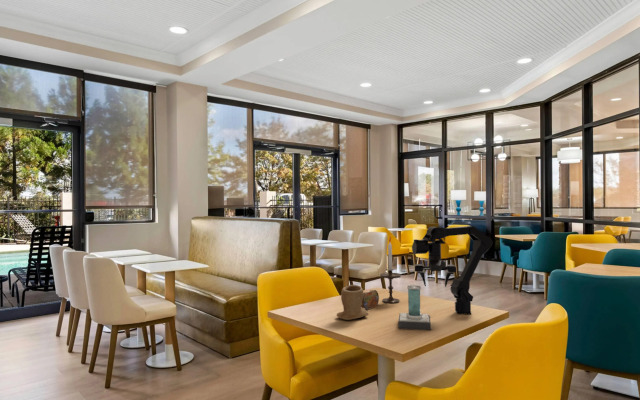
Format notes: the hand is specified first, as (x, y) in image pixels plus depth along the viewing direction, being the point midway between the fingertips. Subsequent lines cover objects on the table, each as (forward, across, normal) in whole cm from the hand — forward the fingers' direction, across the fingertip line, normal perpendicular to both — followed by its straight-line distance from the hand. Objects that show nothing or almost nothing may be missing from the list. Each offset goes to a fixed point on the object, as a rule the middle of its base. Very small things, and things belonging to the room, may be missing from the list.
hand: (435, 286), depth 197 cm
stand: (+13, -10, -20) cm, 26 cm away
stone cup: (+13, -37, -13) cm, 41 cm away
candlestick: (+13, -22, +23) cm, 34 cm away
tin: (+13, -32, +8) cm, 36 cm away
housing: (+10, -10, -20) cm, 24 cm away
